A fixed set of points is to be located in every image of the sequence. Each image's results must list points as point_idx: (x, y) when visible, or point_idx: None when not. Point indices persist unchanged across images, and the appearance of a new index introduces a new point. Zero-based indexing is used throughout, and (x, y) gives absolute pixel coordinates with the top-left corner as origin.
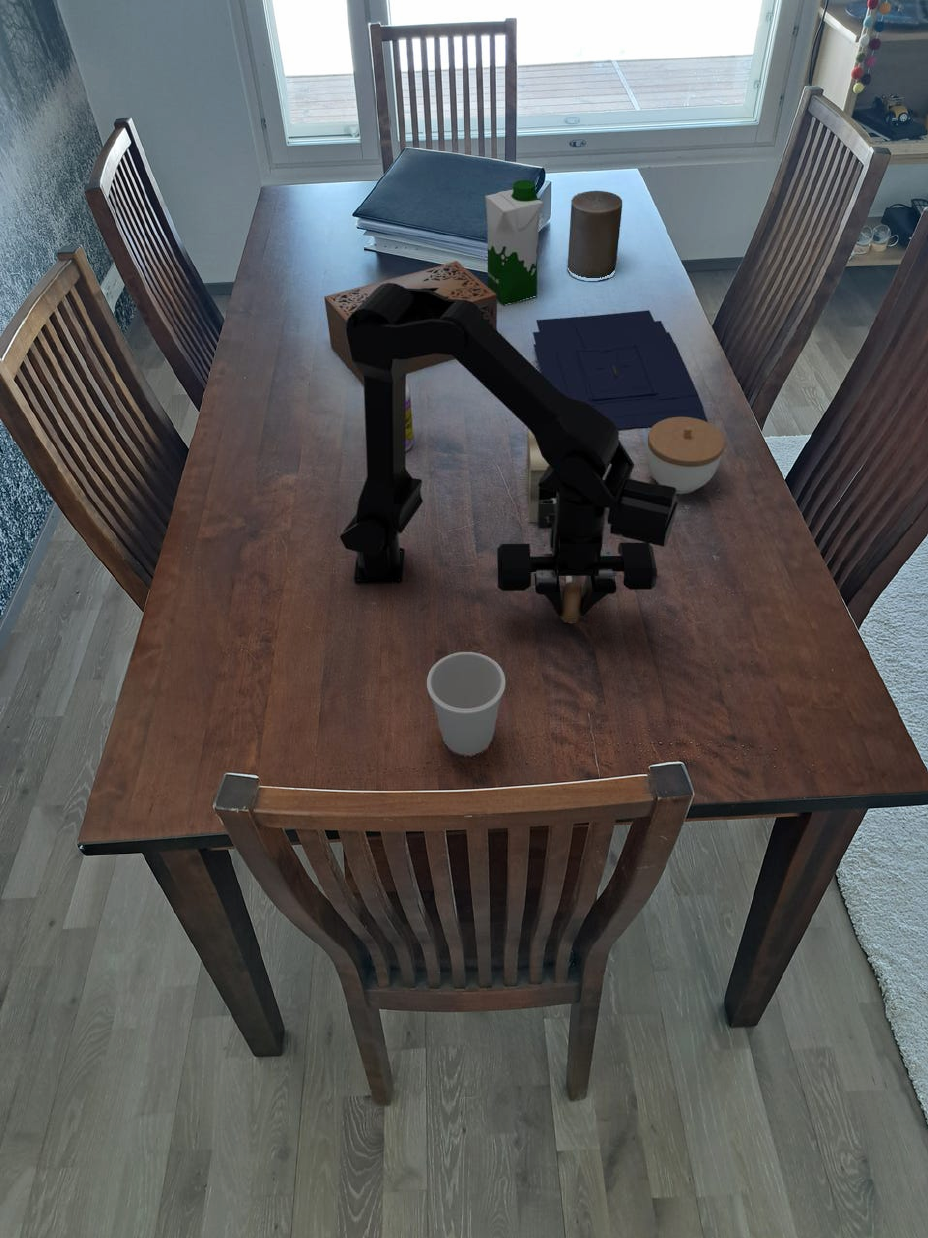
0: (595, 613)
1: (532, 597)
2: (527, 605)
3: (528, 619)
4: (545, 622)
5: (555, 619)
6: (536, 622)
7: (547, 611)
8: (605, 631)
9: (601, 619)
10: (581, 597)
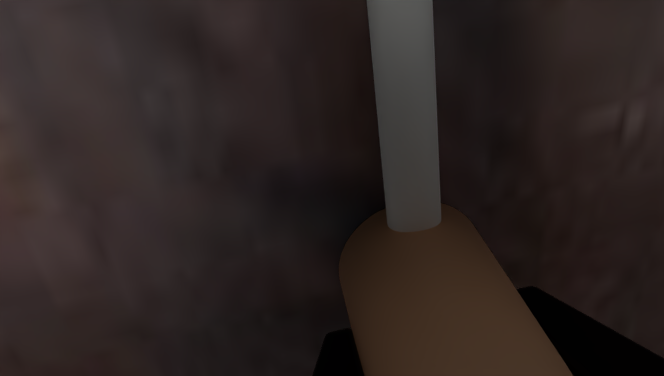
0: (604, 193)
1: (46, 131)
2: (37, 231)
3: (101, 355)
4: (236, 350)
5: (305, 310)
6: (170, 364)
7: (228, 254)
8: (645, 323)
9: (638, 237)
10: (581, 373)
